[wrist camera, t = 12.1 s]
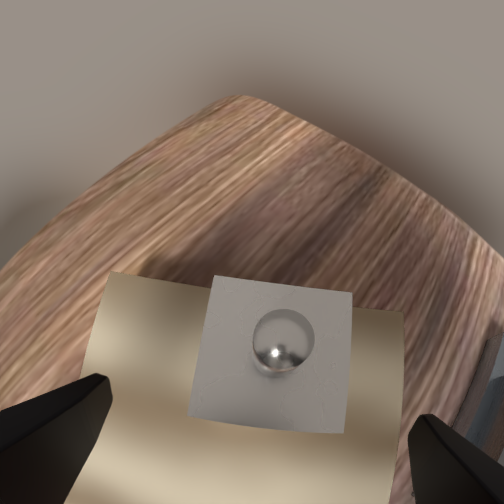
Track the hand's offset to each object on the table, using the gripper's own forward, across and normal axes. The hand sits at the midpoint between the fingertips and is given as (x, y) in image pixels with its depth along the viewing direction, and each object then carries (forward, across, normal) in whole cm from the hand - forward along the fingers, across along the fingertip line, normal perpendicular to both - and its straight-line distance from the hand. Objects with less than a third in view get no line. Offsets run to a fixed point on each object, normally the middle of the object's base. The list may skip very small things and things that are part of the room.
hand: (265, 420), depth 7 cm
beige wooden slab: (+6, +1, +7) cm, 9 cm away
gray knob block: (+6, 0, +3) cm, 6 cm away
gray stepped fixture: (+4, -18, +8) cm, 21 cm away
